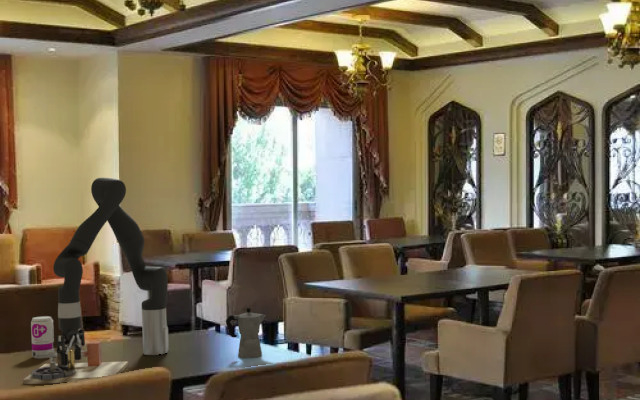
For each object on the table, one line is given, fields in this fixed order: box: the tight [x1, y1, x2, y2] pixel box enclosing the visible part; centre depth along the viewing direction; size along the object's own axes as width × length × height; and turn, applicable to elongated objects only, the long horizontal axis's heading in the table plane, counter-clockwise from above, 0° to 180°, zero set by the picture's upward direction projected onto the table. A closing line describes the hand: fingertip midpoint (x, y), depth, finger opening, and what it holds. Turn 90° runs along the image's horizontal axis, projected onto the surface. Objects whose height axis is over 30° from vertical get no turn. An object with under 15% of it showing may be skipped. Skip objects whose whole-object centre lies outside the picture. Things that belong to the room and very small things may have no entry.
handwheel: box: [30, 349, 76, 380], centre depth 302 cm, size 14×14×8 cm
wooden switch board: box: [22, 347, 129, 385], centre depth 308 cm, size 30×24×8 cm
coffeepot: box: [225, 307, 267, 359], centre depth 331 cm, size 15×9×18 cm, turn 110°
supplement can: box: [30, 315, 55, 359], centre depth 341 cm, size 8×8×15 cm
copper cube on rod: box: [48, 340, 103, 366], centre depth 316 cm, size 18×4×8 cm, turn 90°
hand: (71, 362), depth 305 cm, fingers open, 8 cm apart
